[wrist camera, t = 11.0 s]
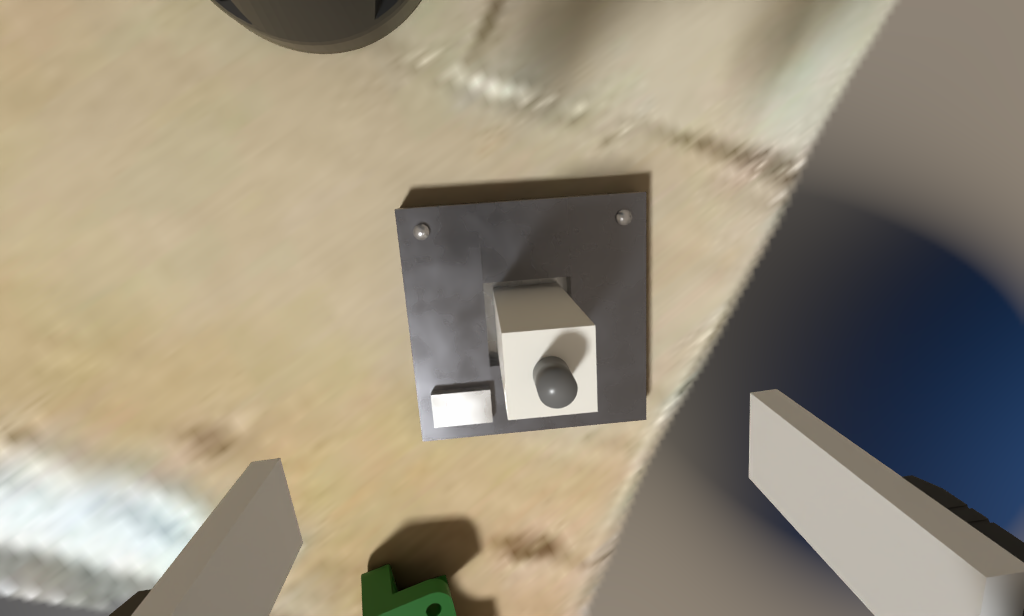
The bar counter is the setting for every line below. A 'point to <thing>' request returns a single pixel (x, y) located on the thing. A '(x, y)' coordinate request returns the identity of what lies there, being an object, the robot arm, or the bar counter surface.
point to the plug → (544, 352)
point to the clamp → (404, 596)
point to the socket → (513, 262)
